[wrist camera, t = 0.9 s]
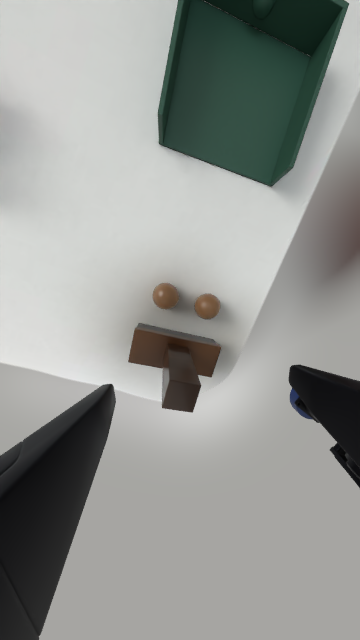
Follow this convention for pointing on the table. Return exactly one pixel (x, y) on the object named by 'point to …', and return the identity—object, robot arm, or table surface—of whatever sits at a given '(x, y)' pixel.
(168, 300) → the brown egg
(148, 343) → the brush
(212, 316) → the brown ball
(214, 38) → the dustpan
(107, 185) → the table surface
